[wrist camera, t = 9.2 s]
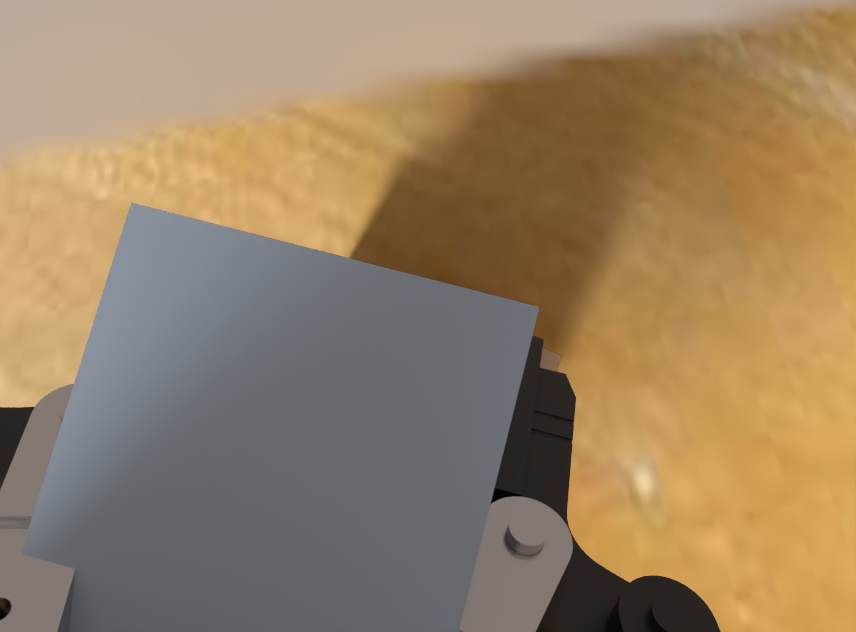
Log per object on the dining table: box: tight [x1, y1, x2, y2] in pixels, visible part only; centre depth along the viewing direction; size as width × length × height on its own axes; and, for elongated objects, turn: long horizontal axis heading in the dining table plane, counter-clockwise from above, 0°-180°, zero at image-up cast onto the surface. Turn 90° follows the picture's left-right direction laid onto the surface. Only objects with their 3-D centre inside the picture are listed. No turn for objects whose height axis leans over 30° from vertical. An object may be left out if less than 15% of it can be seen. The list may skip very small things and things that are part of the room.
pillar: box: [21, 203, 539, 632], centre depth 13 cm, size 4×4×10 cm
